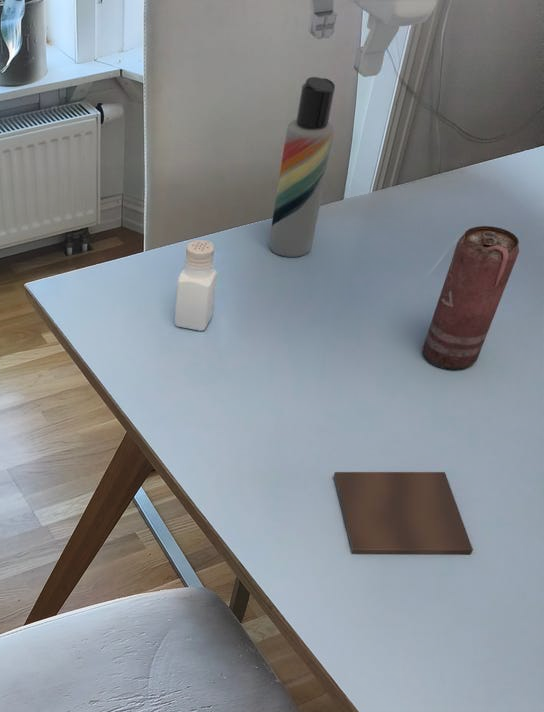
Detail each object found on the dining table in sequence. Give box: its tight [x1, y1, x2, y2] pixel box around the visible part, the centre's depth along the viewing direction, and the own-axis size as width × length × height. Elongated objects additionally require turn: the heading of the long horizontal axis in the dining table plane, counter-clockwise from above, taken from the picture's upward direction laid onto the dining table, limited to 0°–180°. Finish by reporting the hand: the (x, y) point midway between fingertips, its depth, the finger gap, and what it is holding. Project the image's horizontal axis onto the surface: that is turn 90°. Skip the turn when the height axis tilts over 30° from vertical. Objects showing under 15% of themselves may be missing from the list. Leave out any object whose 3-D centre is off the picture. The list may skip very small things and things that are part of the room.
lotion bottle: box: [268, 76, 336, 258], centre depth 111 cm, size 6×6×20 cm
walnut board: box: [333, 471, 474, 555], centre depth 85 cm, size 11×11×1 cm
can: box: [422, 225, 520, 371], centre depth 96 cm, size 6×6×14 cm
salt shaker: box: [174, 239, 218, 332], centre depth 104 cm, size 4×4×10 cm
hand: (342, 53), depth 76 cm, fingers open, 8 cm apart
